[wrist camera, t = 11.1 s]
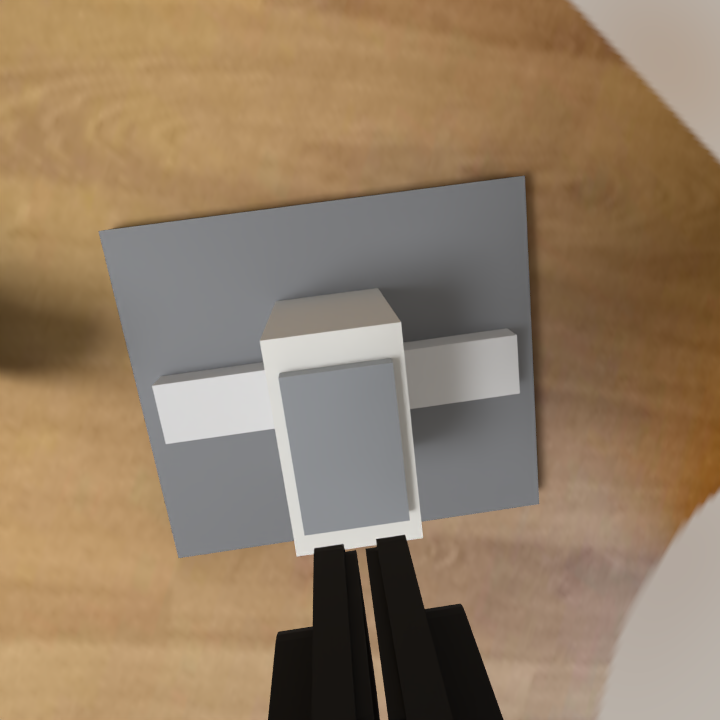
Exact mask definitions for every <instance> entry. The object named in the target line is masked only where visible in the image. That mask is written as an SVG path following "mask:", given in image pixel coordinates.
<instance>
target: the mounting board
mask: <svg viewBox="0 0 720 720" xmlns="http://www.w3.org/2000/svg"><path fill="white" fill-rule="evenodd" d="M99 235H100V239H101V243H102V247H103V251H104V255H105V260H106V264H107V268H108V272H109V276H110V280H111V284H112V288H113V292H114V296H115V300H116V304H117V308H118V313H119V317H120V321H121V325H122V329H123V333H124V337H125V341H126V345H127V349H128V353H129V357H130V362H131V366H132V370H133V374H134V378H135V382H136V386H137V390H138V394H139V398H140V402H141V406H142V410H143V415H144V419H145V423H146V427H147V431H148V435H149V439H150V443H151V447H152V451H153V455H154V459H155V464H156V468H157V472H158V476H159V480H160V484H161V488H162V492H163V496H164V500H165V504H166V508H167V512H168V517H169V521H170V525H171V529H172V533H173V537H174V541H175V545H176V549H177V553H178V557H179V558H182V557H189V556H196V555H202V554H209V553H216V552H222V551H229V550H236V549H242V548H249V547H256V546H262V545H269V544H275V543H282V542H289V541H294V537H293V531H292V525H291V520H290V514H289V508H288V502H287V496H286V491H285V485H284V479H283V473H282V468H281V462H280V456H279V450H278V444H277V439H276V433H275V427H274V421H273V415H272V410H271V404H270V398H269V392H268V387H267V381H266V375H265V369H264V363H263V358H262V352H261V346H260V339H261V336H262V334H263V331H264V329H265V326H266V324H267V322H268V319H269V317H270V314H271V312H272V309H273V307H274V305H275V302H276V301H282V300H290V299H297V298H305V297H313V296H320V295H328V294H336V293H343V292H351V291H359V290H366V289H374V288H378V289H379V290H380V292H381V293H382V295H383V296H384V298H385V299H386V301H387V302H388V304H389V305H390V307H391V308H392V310H393V311H394V312H395V314H396V315H397V317H398V318H399V320H400V321H401V327H402V336H403V346H404V356H405V366H406V376H407V385H408V395H409V405H410V415H411V425H412V435H413V444H414V454H415V464H416V474H417V484H418V494H419V503H420V513H421V522H422V521H429V520H435V519H442V518H449V517H455V516H462V515H469V514H475V513H482V512H489V511H495V510H502V509H509V508H515V507H522V506H529V505H535V504H539V492H538V469H537V446H536V423H535V400H534V377H533V354H532V330H531V307H530V284H529V261H528V238H527V215H526V192H525V176H518V177H510V178H502V179H495V180H487V181H479V182H472V183H464V184H456V185H449V186H441V187H433V188H425V189H418V190H410V191H402V192H395V193H387V194H379V195H372V196H364V197H356V198H349V199H341V200H333V201H325V202H318V203H310V204H302V205H295V206H287V207H279V208H272V209H264V210H256V211H249V212H241V213H233V214H226V215H218V216H210V217H202V218H195V219H187V220H179V221H172V222H164V223H156V224H149V225H141V226H133V227H126V228H118V229H110V230H103V231H99Z"/></svg>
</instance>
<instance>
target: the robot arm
mask: <svg viewBox="0 0 720 720" xmlns="http://www.w3.org/2000/svg"><path fill="white" fill-rule="evenodd" d="M376 544H377V547H375V548H368V549H366V556H367V563H368V570H369V578H370V585H371V593H372V600H373V608H374V615H375V622H376V630H377V637H378V645H379V652H380V660H381V667H382V674H383V682H384V689H385V697H386V704H387V712H388V719H389V720H503V717H502V714H501V712H500V709H499V706H498V703H497V700H496V698H495V695H494V692H493V689H492V686H491V683H490V681H489V678H488V675H487V672H486V669H485V667H484V664H483V661H482V658H481V655H480V653H479V650H478V647H477V644H476V641H475V639H474V636H473V633H472V630H471V627H470V625H469V622H468V619H467V616H466V613H465V611H464V608H463V606H462V605H461V604H456V605H449V606H443V607H436V608H430V609H424V605H423V601H422V597H421V594H420V590H419V586H418V582H417V578H416V574H415V570H414V567H413V563H412V559H411V555H410V551H409V547H408V543H407V540H406V536H405V535H399V536H393V537H386V538H379V539H376ZM268 720H380V717H379V708H378V700H377V691H376V683H375V676H374V669H373V662H372V655H371V648H370V641H369V634H368V627H367V621H366V614H365V607H364V600H363V593H362V586H361V579H360V572H359V566H358V559H357V552H356V550H355V551H348V552H345V548H344V544H339V545H333V546H326V547H319V548H314V576H313V627H307V628H300V629H294V630H287V631H281V632H278V634H277V637H276V644H275V655H274V665H273V675H272V685H271V695H270V705H269V716H268Z"/></svg>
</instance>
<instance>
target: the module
mask: <svg viewBox="0 0 720 720" xmlns="http://www.w3.org/2000/svg"><path fill="white" fill-rule="evenodd" d="M260 346H261V352H262V358H263V363H264V369H265V375H266V381H267V387H268V392H269V398H270V404H271V410H272V415H273V421H274V427H275V433H276V439H277V444H278V450H279V456H280V462H281V468H282V473H283V479H284V485H285V491H286V496H287V502H288V508H289V514H290V520H291V525H292V531H293V537H294V543H295V549H296V554H297V556H303V555H310V554H314V548H319V547H326V546H333V545H339V544H344V548H345V549H351V548H358V547H365V546H371V545H377V544H376V539H379V538H386V537H393V536H399V535H405V536H406V540H412V539H419V538H423V533H422V523H421V513H420V503H419V494H418V484H417V474H416V464H415V454H414V444H413V435H412V425H411V415H410V405H409V395H408V385H407V376H406V366H405V356H404V346H403V336H402V327H401V321H400V320H399V318H398V317H397V315H396V314H395V312H394V311H393V310H392V308H391V307H390V305H389V304H388V302H387V301H386V299H385V298H384V296H383V295H382V293H381V292H380V290H379V289H378V288H374V289H366V290H359V291H351V292H343V293H336V294H328V295H320V296H313V297H305V298H297V299H290V300H282V301H276V302H275V305H274V307H273V309H272V312H271V314H270V317H269V319H268V322H267V324H266V326H265V329H264V331H263V334H262V336H261V339H260Z"/></svg>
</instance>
